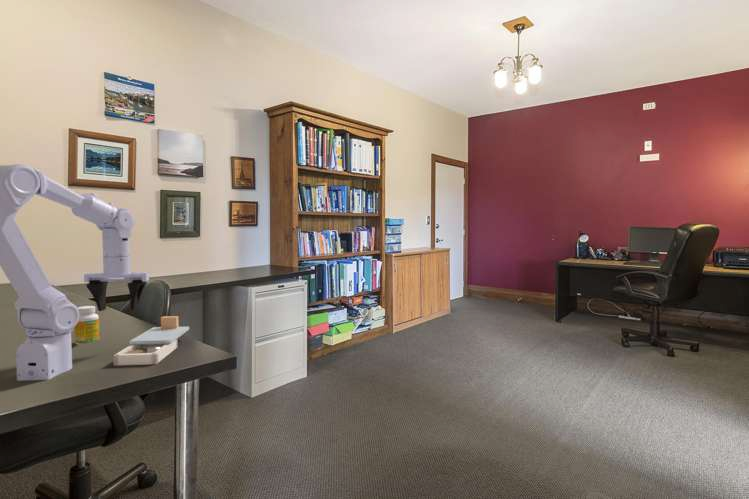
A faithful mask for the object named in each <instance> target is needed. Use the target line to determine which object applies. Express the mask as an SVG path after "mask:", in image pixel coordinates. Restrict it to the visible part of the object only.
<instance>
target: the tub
mask: <svg viewBox="0 0 749 499" xmlns="http://www.w3.org/2000/svg"><path fill="white" fill-rule="evenodd" d="M178 339H179V337H178V338H177V339H176V340H174V341H173V342H172V343H167V344H129V345H128V346H127V347H125V348H123V349H122V350H120V351H118V352H117V353H115V354H113V356H112V357H113V358H112V360H113V361H112V363H113V366H139V365H140V366H141V365H158V364H159V363H160V362H161V361H162V360H163V359H165V358H166V357H167V356H168V355H170V354H171V353H172V352H174V351H175V350H176V349H177V348H178V344H179V343H178V342H179V341H178ZM150 346H161V348H160V349H158V350H157V351H155V352H154V353H147V348H148V347H150ZM130 350H143V353H139V354H125V353H126V352H128V351H130Z"/></svg>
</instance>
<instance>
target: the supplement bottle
mask: <svg viewBox="0 0 749 499" xmlns="http://www.w3.org/2000/svg"><path fill="white" fill-rule="evenodd" d="M77 308H78V310H79V320H78V322H77V324H76V326H75V327H74V343H75V345H77V346H79V345H82V344H83V343H85V344H86V343H91V342H95V341H96V342H97V341H98V340H100V318H99V317H100V316H99V314H97V313H96V306H95V305H84V306H78V307H77Z"/></svg>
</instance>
